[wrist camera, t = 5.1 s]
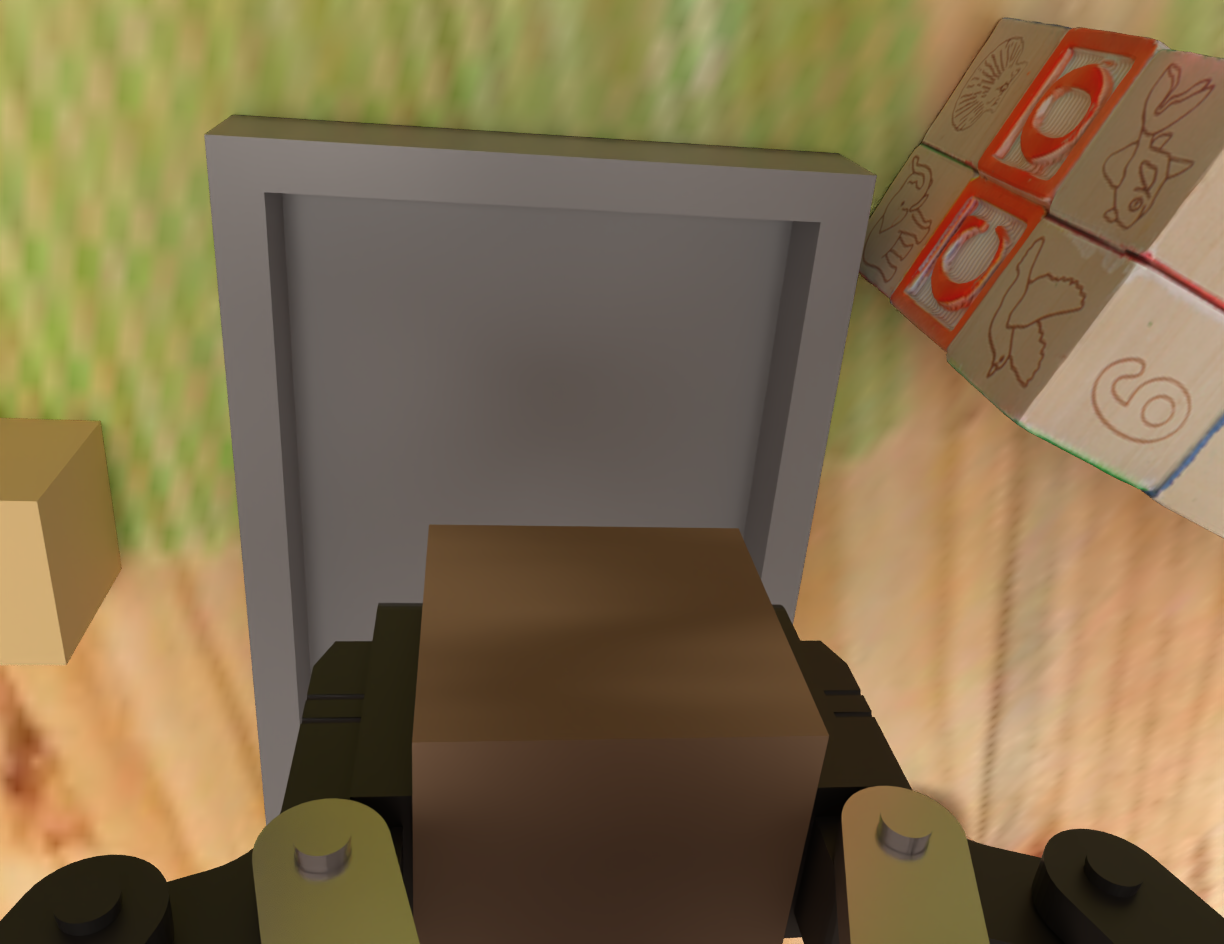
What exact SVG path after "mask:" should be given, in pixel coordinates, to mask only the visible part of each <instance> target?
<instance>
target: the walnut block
mask: <svg viewBox="0 0 1224 944" xmlns="http://www.w3.org/2000/svg"><path fill="white" fill-rule="evenodd" d="M828 739H829V734H828V732H827V730H826V727H825V725H824V723H823V720H822V718H821V716H820V714H819V711H818V709H817V707H816V704H815V702H814V700H813V698H812V695H811V693H810V691H809V688H808V686H807V684H806V682H805V679H804V677H803V675H802V672H801V670H800V668H799V666H798V663H797V661H796V659H795V656H794V654H793V652H792V650H791V647H790V645H789V643H788V640H787V638H786V636H785V634H784V631H783V629H782V627H781V624H780V622H779V620H778V618H777V615H776V613H775V611H774V608H773V606H772V604H771V602H770V599H769V597H768V595H767V592H766V590H765V588H764V586H763V583H762V581H761V579H760V576H759V574H758V572H757V570H756V567H755V565H754V563H753V560H752V558H751V556H750V554H749V551H748V549H747V547H746V544H745V542H744V540H743V538H742V535H741V533H740V531H739V528H678V527H595V526H511V525H429V530H428V543H427V556H426V569H425V582H424V595H423V608H422V621H421V634H420V647H419V659H418V672H417V685H416V698H415V711H414V724H413V737H412V804H413V920H414V924H415V927H416V931H417V935H418V939H419V942H420V944H782V943H783V939H784V934H785V930H786V926H787V921H788V917H789V912H790V908H791V903H792V899H793V894H794V890H795V886H796V881H797V877H798V872H799V868H800V863H801V859H802V854H803V850H804V846H805V841H806V837H807V832H808V828H809V823H810V819H811V814H812V810H813V805H814V801H815V797H816V792H817V788H818V783H819V779H820V774H821V770H822V765H823V761H824V757H825V752H826V748H827V743H828Z"/></svg>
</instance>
